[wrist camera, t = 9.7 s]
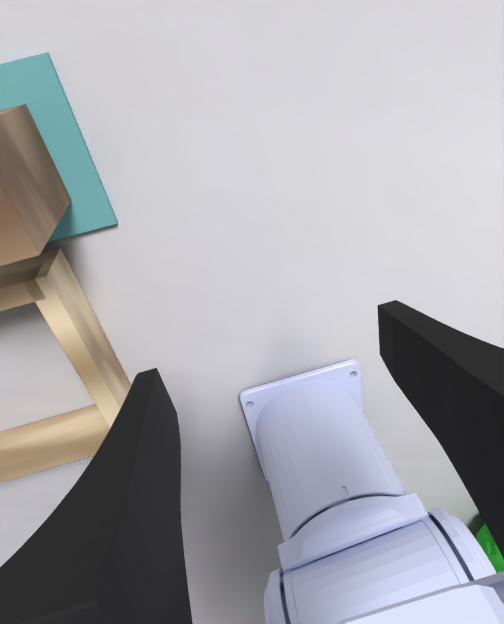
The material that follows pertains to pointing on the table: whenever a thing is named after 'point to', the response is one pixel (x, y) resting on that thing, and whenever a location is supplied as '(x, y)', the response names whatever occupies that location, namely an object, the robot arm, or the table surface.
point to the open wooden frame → (83, 355)
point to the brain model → (490, 548)
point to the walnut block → (26, 188)
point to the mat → (58, 141)
